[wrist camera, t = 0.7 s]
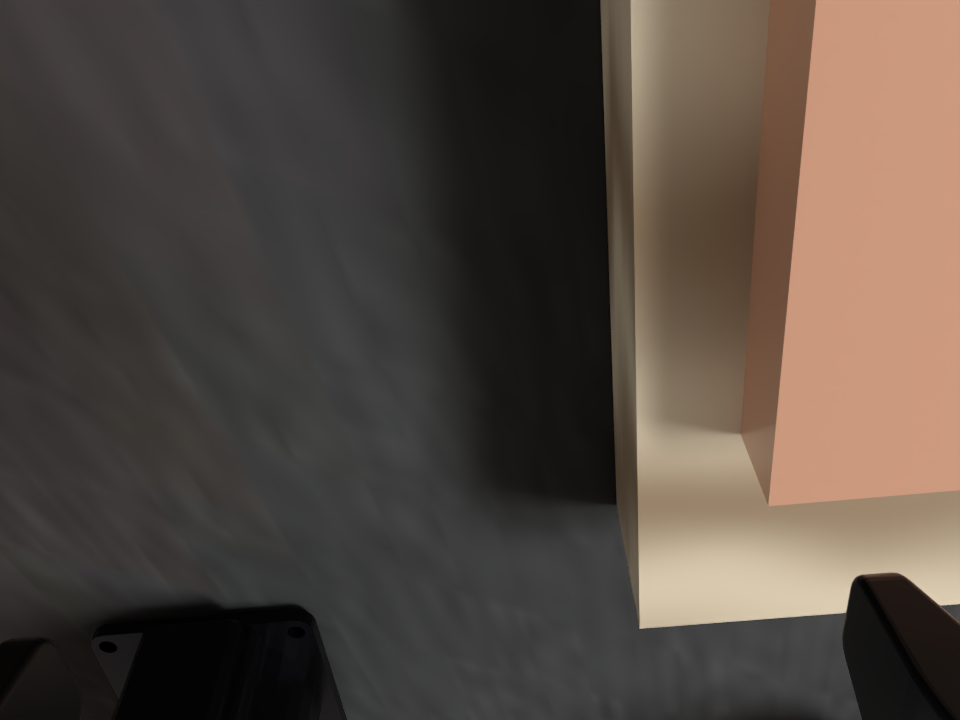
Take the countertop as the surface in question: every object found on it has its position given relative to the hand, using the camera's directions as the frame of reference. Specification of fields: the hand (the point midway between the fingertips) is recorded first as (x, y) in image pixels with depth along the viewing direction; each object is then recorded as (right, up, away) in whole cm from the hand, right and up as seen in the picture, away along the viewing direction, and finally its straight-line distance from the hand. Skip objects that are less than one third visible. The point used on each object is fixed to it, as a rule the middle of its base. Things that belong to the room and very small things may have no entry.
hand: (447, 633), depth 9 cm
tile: (+8, +5, +6) cm, 11 cm away
